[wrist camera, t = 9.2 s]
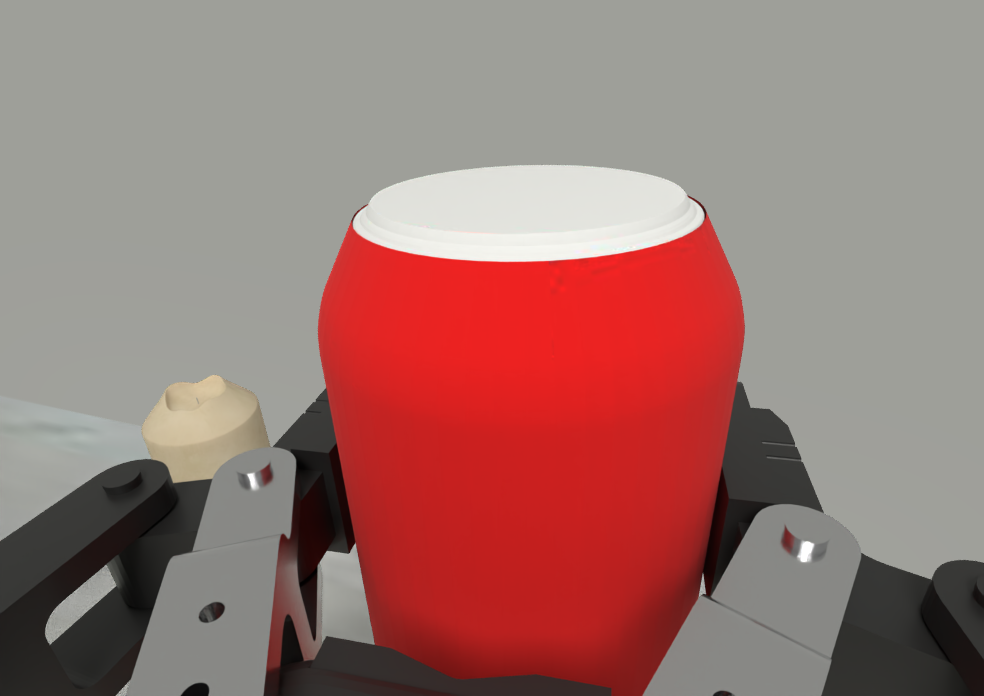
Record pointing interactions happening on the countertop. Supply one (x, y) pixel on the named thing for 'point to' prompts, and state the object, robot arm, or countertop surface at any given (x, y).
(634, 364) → the beverage can
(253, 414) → the candle
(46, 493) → the countertop surface
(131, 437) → the countertop surface
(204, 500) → the robot arm
